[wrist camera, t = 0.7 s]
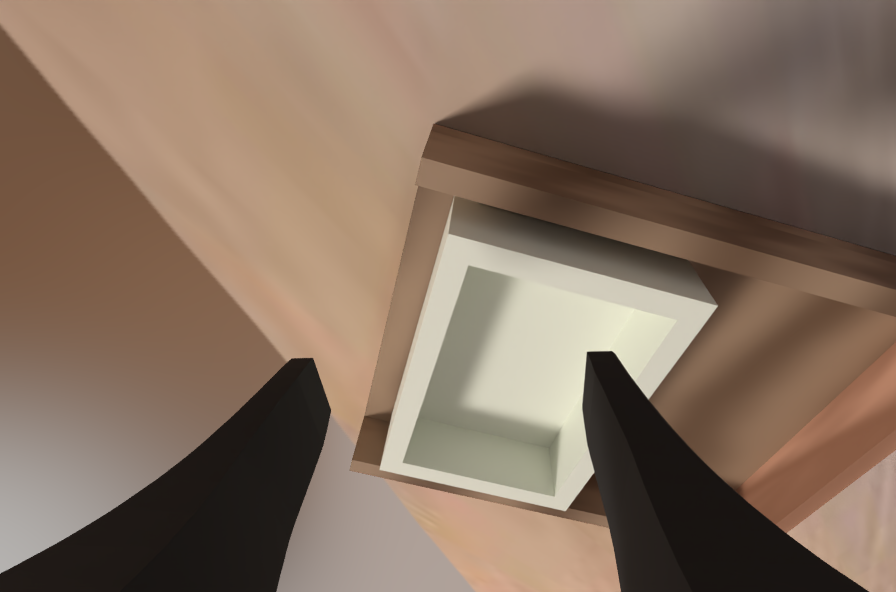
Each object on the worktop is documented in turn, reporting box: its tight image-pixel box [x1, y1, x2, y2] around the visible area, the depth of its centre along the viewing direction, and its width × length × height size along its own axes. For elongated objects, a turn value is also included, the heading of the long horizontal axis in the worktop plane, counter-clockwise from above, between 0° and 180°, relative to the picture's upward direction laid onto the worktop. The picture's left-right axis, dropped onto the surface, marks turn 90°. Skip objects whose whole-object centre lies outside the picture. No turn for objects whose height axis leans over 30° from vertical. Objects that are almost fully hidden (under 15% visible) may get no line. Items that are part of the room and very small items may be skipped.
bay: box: [350, 124, 896, 533], centre depth 23 cm, size 24×18×4 cm
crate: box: [380, 196, 718, 511], centre depth 22 cm, size 10×14×4 cm
